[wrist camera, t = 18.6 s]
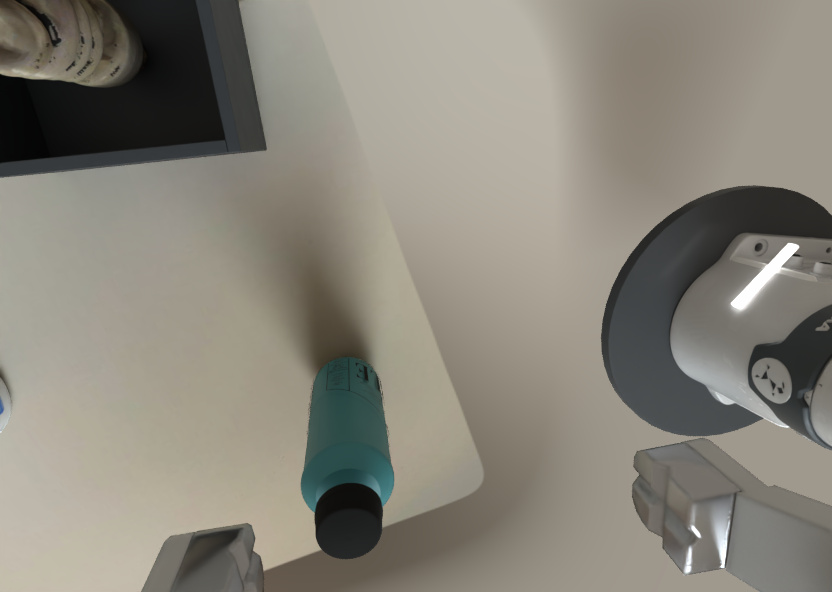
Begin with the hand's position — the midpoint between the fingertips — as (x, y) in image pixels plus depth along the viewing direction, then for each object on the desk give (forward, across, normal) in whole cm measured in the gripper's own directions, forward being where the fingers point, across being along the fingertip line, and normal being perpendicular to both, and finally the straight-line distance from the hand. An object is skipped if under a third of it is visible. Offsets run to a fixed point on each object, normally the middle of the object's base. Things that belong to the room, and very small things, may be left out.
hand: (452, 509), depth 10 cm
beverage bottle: (+34, +4, +14) cm, 37 cm away
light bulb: (+33, +16, -15) cm, 40 cm away
